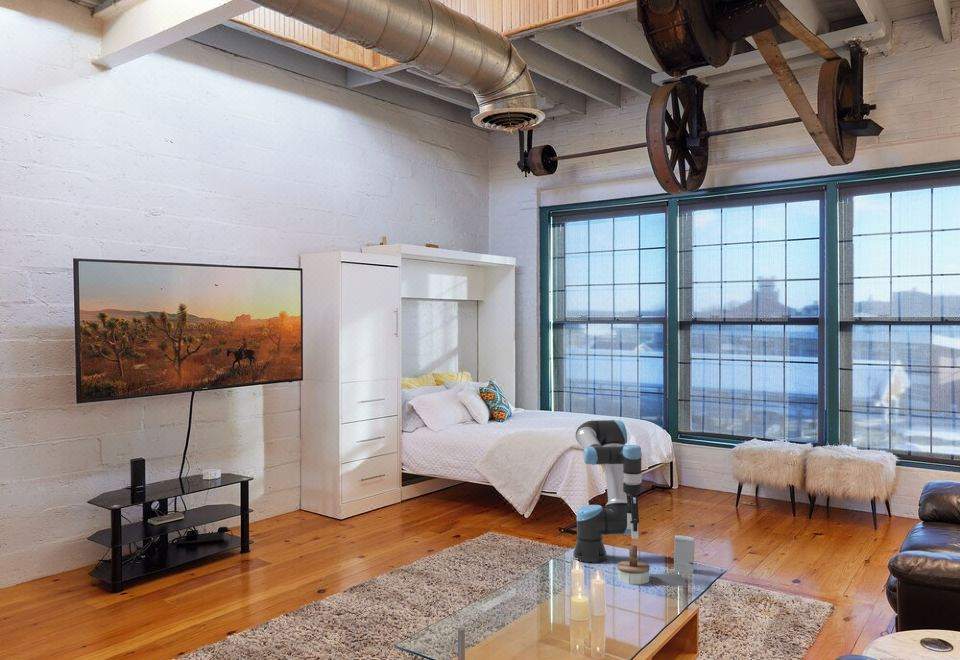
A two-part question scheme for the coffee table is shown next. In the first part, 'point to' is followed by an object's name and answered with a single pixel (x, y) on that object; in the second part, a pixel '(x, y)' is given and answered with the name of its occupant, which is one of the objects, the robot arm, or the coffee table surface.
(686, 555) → the skincare box
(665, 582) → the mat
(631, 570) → the lid
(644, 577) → the bowl
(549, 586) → the coffee table surface
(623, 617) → the coffee table surface
